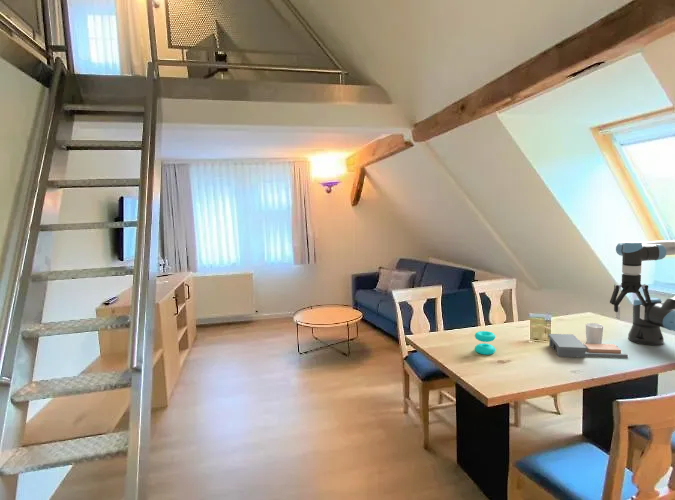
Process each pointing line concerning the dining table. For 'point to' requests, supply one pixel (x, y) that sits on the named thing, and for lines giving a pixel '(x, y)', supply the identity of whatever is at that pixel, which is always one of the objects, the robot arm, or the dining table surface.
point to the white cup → (594, 333)
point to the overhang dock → (574, 347)
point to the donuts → (483, 347)
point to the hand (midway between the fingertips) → (629, 318)
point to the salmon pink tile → (602, 348)
